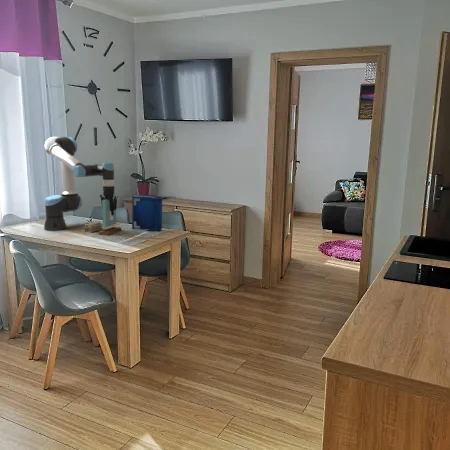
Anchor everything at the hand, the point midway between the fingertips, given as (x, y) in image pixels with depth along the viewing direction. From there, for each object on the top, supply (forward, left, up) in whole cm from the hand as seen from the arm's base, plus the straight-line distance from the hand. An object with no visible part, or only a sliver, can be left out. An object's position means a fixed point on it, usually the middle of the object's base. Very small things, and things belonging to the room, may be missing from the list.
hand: (109, 219), depth 304 cm
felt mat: (+13, 0, -10) cm, 17 cm away
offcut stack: (-14, 0, -10) cm, 17 cm away
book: (+17, +21, -10) cm, 29 cm away
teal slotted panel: (0, 0, -4) cm, 4 cm away
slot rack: (0, 0, -10) cm, 10 cm away
